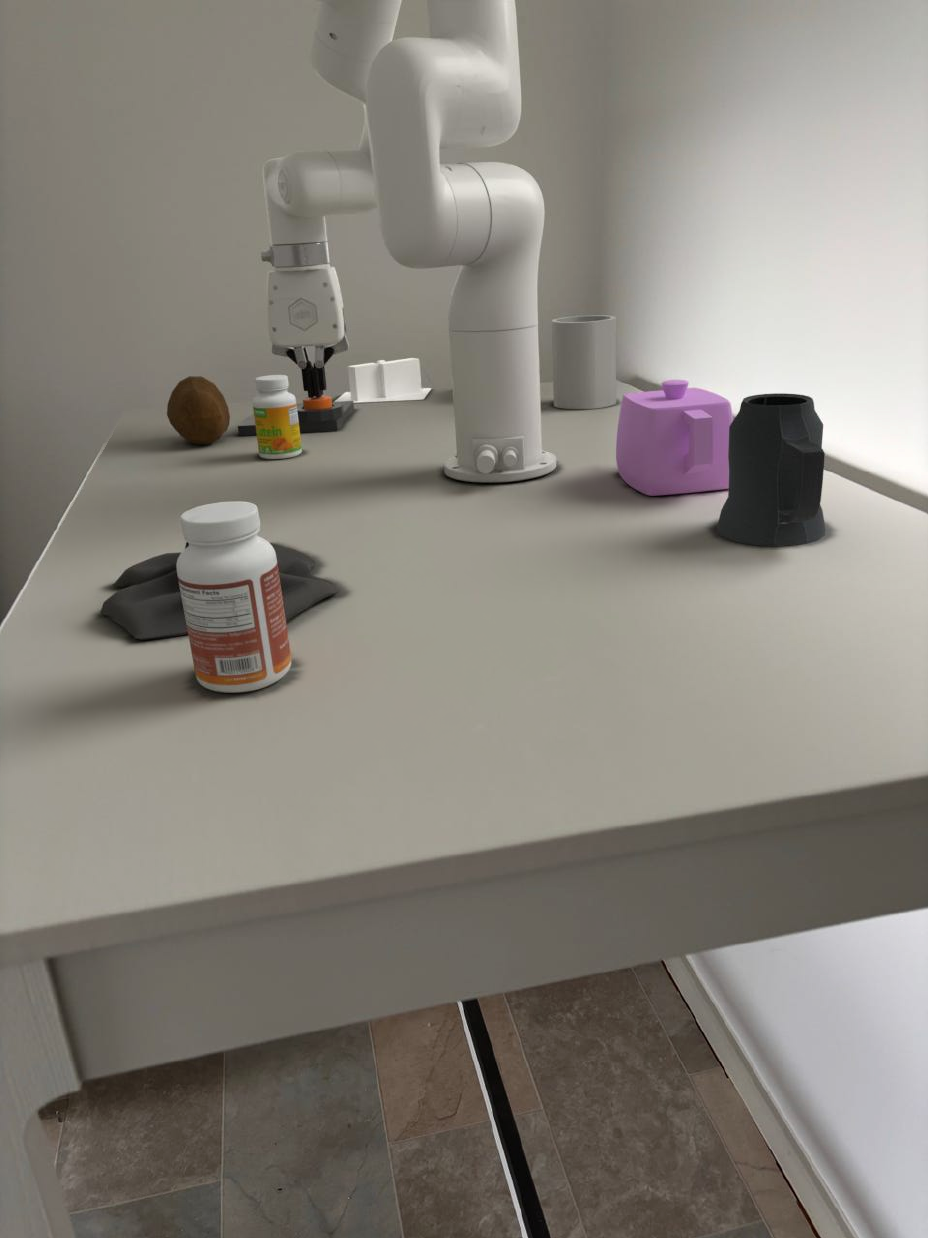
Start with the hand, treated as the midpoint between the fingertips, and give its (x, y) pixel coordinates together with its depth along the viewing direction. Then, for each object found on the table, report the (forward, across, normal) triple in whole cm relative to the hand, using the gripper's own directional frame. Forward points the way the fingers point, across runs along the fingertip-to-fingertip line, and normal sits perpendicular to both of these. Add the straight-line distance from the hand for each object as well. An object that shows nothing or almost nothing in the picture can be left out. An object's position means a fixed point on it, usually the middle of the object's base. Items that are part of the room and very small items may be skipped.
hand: (315, 395), depth 143 cm
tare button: (+2, 0, 0) cm, 2 cm away
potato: (+5, -16, -6) cm, 17 cm away
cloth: (+4, +4, -67) cm, 67 cm away
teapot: (+4, +44, -39) cm, 59 cm away
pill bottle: (+4, +10, -84) cm, 85 cm away
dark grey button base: (+4, -4, +5) cm, 8 cm away
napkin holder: (+5, +6, +25) cm, 26 cm away
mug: (+4, +50, -59) cm, 78 cm away
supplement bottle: (+5, -2, -17) cm, 18 cm away
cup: (+4, +38, +8) cm, 39 cm away
